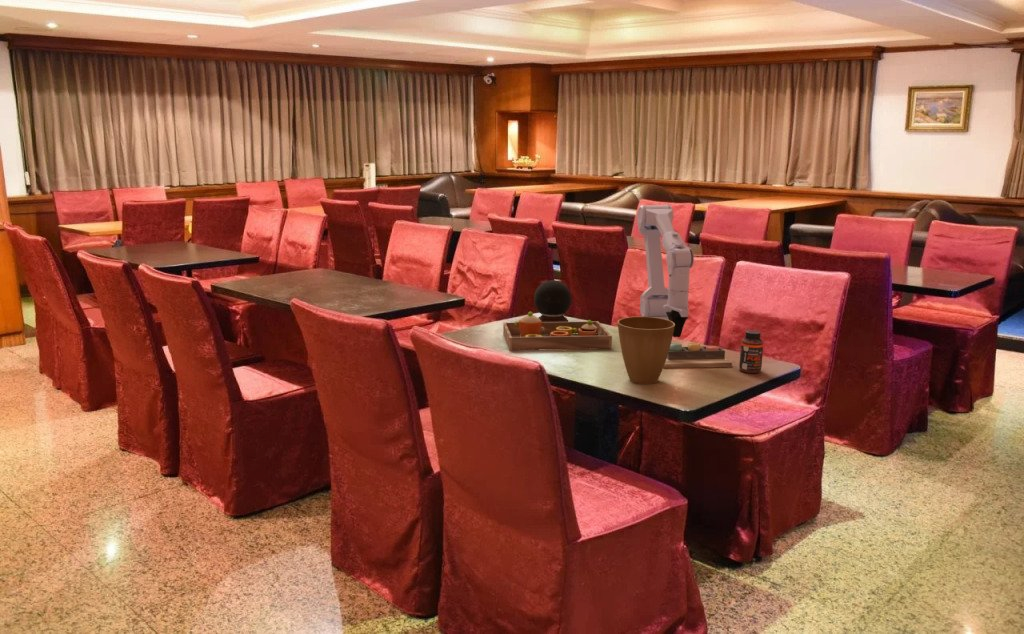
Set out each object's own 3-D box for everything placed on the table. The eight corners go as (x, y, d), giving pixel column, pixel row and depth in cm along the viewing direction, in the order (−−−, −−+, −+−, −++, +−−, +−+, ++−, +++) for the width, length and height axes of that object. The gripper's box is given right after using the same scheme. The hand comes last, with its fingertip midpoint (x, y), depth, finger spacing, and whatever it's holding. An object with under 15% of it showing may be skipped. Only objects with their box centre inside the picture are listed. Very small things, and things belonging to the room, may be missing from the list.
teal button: (667, 351, 245) (667, 343, 245) (679, 351, 245) (679, 343, 245) (670, 354, 242) (671, 346, 241) (683, 354, 242) (683, 346, 241)
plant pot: (604, 380, 224) (606, 321, 221) (638, 370, 235) (640, 314, 231) (649, 392, 214) (652, 331, 211) (683, 381, 224) (686, 322, 221)
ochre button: (685, 351, 246) (686, 342, 245) (697, 351, 246) (698, 342, 245) (689, 354, 242) (689, 345, 242) (701, 354, 242) (702, 345, 242)
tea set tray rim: (503, 334, 276) (503, 322, 276) (597, 332, 279) (598, 321, 279) (509, 350, 255) (509, 337, 255) (611, 348, 258) (611, 336, 258)
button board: (650, 355, 250) (650, 343, 250) (715, 354, 252) (716, 342, 251) (662, 368, 237) (663, 355, 236) (731, 366, 239) (732, 354, 238)
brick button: (703, 354, 246) (704, 345, 246) (715, 353, 247) (716, 345, 246) (707, 357, 243) (708, 348, 242) (720, 357, 243) (720, 348, 243)
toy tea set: (524, 351, 256) (524, 320, 254) (509, 339, 271) (509, 310, 269) (603, 345, 264) (604, 315, 262) (584, 334, 278) (584, 306, 276)
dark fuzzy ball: (533, 318, 302) (534, 277, 299) (570, 319, 301) (571, 277, 298) (533, 326, 289) (533, 283, 286) (571, 327, 288) (572, 283, 285)
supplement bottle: (746, 374, 230) (748, 334, 228) (735, 369, 236) (737, 329, 234) (765, 373, 232) (768, 333, 230) (753, 367, 238) (756, 328, 235)
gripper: (657, 286, 246) (655, 331, 249) (671, 294, 232) (669, 342, 235) (681, 285, 247) (679, 330, 250) (696, 294, 233) (694, 342, 236)
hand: (676, 336), depth 243 cm, fingers closed
